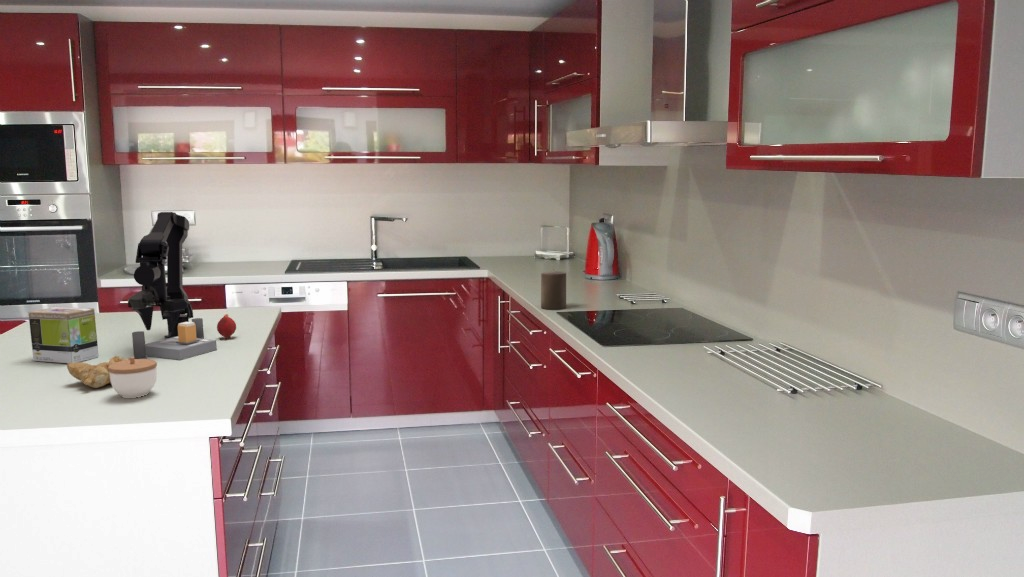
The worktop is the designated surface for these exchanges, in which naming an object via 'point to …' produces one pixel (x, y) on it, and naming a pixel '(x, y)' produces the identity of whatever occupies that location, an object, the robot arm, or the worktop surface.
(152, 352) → the panel
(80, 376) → the ginger root
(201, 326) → the cable post
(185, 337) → the block
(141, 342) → the cable post
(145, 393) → the lidded jar
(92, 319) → the tea box
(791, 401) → the worktop surface
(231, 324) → the onion
